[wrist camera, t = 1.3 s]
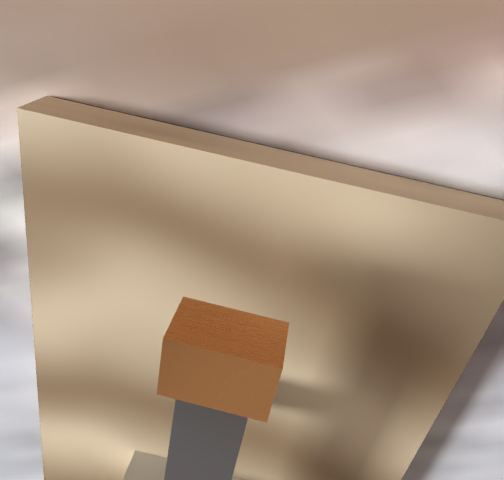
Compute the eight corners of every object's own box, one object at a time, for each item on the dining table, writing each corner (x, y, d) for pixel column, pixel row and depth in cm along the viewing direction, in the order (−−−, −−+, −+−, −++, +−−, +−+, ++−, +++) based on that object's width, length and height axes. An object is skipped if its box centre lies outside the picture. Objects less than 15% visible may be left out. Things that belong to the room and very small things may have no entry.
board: (323, 583, 24) (322, 617, 23) (63, 512, 25) (48, 541, 24) (523, 204, 13) (543, 229, 12) (46, 95, 14) (17, 108, 13)
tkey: (234, 484, 19) (206, 626, 15) (177, 469, 19) (132, 605, 15) (300, 246, 13) (283, 368, 9) (216, 226, 13) (162, 338, 9)
